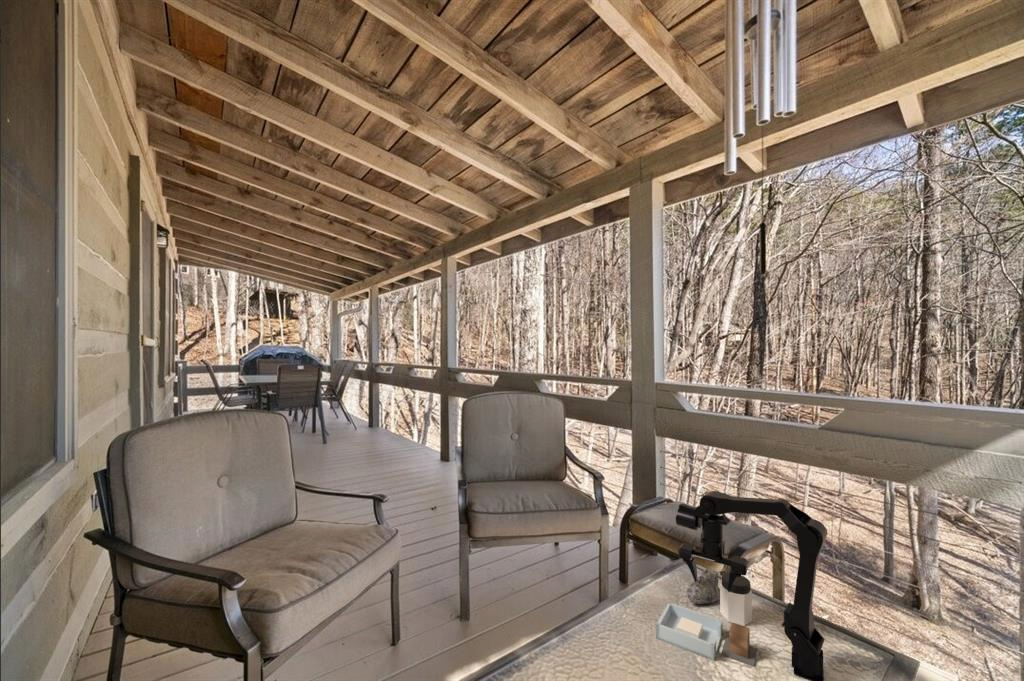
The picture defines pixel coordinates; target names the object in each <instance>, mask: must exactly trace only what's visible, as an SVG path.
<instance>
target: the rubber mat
mask: <svg viewBox="0 0 1024 681" xmlns="http://www.w3.org/2000/svg"><path fill="white" fill-rule="evenodd" d="M757 653H758V647H754V646H752V645H750V650H749V655H748V659H747V658H744V657H741V656H739V655H736V654H733V653H731V652H729V637H727V636H726V637H725V639H724V643H723V646H722V649H721V653H720V655H722V656H724V657H727V658H730V659H732V660H735V661H737V662H740V663H744V665H745V664H746V665H748V666H751V667H754V668H755V665H756V664H755V663H756V658H757Z"/></svg>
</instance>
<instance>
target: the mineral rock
mask: <svg viewBox="0 0 1024 681" xmlns="http://www.w3.org/2000/svg"><path fill="white" fill-rule="evenodd" d="M686 594H687V600H689V602H690V603H691V604H698V605H704V604H709V603H714V602H717V601H719V600H720V586H719V573H718V570H717V569H716V570H715V569H714V568H713V569H708V568H705V569H703V570H702V571H701V573H700V575H699V576H697V582H695V580H694V579H693V581H692V582H691V583H690V584H689V586H688V587H687V588H686Z"/></svg>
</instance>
